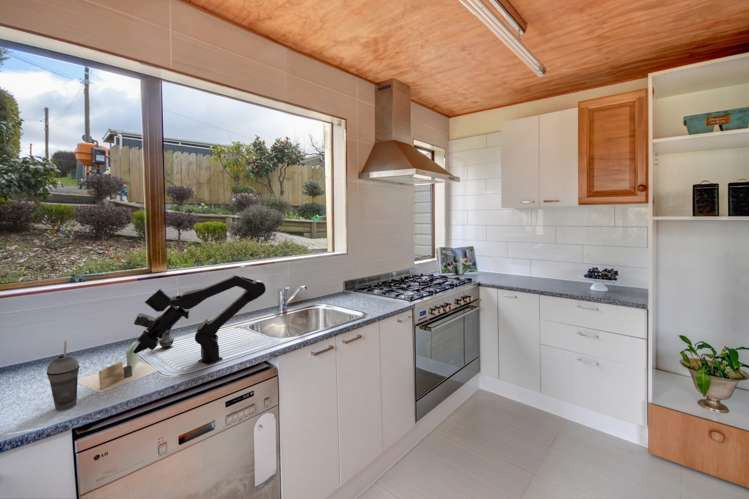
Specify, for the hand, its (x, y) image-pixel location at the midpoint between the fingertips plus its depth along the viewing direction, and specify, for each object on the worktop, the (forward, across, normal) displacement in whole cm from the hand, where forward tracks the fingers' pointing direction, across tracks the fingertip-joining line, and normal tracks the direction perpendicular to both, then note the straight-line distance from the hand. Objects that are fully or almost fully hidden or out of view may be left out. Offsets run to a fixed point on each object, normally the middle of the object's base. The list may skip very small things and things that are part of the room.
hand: (134, 352), depth 129 cm
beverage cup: (+14, +22, -4) cm, 27 cm away
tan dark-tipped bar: (+7, +8, +2) cm, 11 cm away
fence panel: (+5, -2, +4) cm, 7 cm away
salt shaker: (0, -22, +10) cm, 24 cm away
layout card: (+8, +3, +2) cm, 8 cm away
